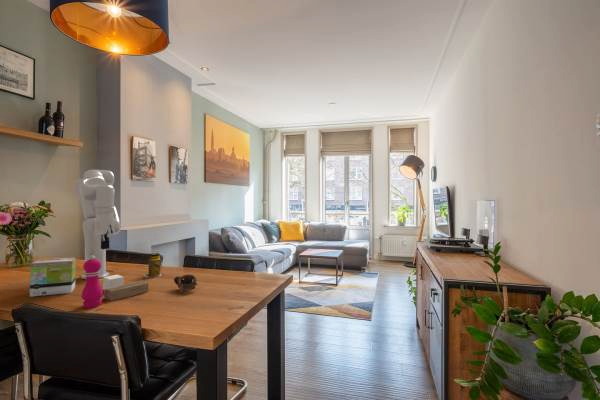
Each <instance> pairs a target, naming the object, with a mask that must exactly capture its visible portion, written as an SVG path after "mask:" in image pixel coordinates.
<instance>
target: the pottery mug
mask: <svg viewBox="0 0 600 400" xmlns="http://www.w3.org/2000/svg"><path fill="white" fill-rule="evenodd" d="M173 281H174V284H175V285H176V286H177V288H178V291H179V293H181V294H182V293H183V292H186V291H189V290H192V289H193V288H194V289H195V288H196V286H198V283H197V282H198V280H197V278H196V276H195V275H193V274H188V273H187V274H184V275H181V276H175V277H174V279H173Z"/></svg>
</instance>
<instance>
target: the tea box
mask: <svg viewBox="0 0 600 400" xmlns="http://www.w3.org/2000/svg"><path fill="white" fill-rule="evenodd" d="M76 265H77V264H76V257H60V258H59V257H56V258H42V259H36V260H34V261H33V262H31V263H30V264H29V298H32V297H39V296H50V295H62V294H71V293H72V292H73V291H74V289H75V288H76V268H77V267H76Z"/></svg>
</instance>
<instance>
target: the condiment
mask: <svg viewBox="0 0 600 400" xmlns="http://www.w3.org/2000/svg"><path fill="white" fill-rule="evenodd" d="M148 257H149V259H148V273H146V274H145V273H144V274H143V276H144V278H152V277H153V278H154V277H162V276H163V275H162V274H161V272H162V271H161V270H162V269H161V267H162V266H161V255H160V253H159V252H153V253H149V256H148Z"/></svg>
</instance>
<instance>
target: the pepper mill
mask: <svg viewBox="0 0 600 400" xmlns="http://www.w3.org/2000/svg"><path fill="white" fill-rule="evenodd" d="M100 268H101V262H100V261H99V260H97V259H95V256H93V255H92V256H90V260H88V261H86V262H85V261H84V263H83V270H84V274H85V276H86V279H85V284H84V287H83V289H82V292H81V299H82V301H83V302H82V307H83V308H84V309H92V308H96V307H99V306H101V305H102V303H103V300H102V297H103V296H104V290H103V287H102V285H101V284H100V280H99V279H100V278H98V277H99V274H100V271H99V269H100ZM85 271H86V272H85Z"/></svg>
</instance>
